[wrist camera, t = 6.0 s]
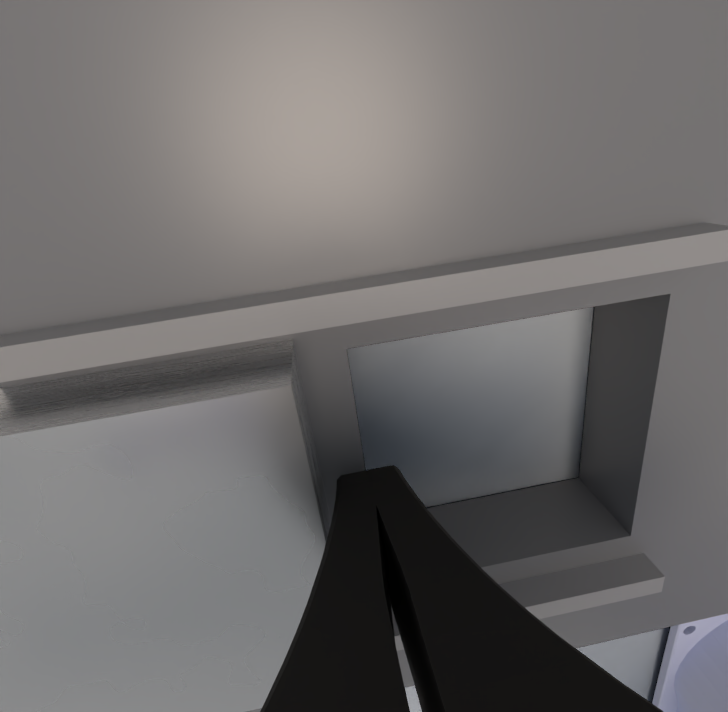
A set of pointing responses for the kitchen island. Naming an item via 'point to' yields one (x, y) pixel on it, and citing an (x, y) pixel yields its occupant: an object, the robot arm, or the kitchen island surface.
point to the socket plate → (401, 238)
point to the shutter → (157, 533)
